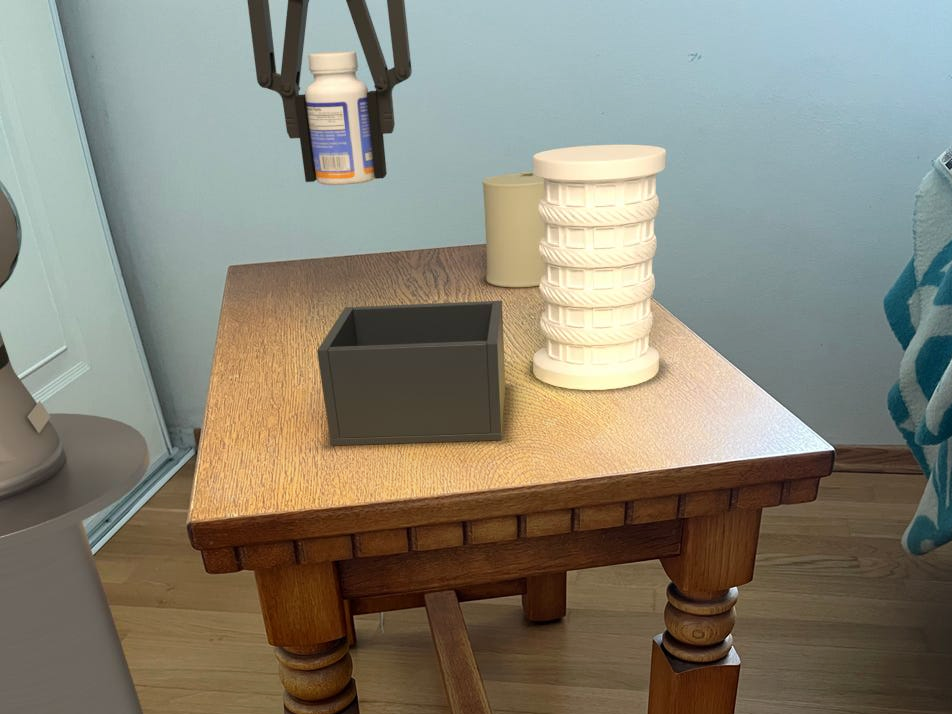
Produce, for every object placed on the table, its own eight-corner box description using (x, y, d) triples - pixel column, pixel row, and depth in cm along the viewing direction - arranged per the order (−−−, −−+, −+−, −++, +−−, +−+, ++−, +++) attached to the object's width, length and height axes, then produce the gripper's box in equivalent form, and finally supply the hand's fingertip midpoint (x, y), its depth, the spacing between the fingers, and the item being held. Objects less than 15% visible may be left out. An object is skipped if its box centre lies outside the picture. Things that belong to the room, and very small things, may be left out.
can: (566, 271, 121) (566, 167, 114) (549, 288, 114) (548, 179, 107) (498, 269, 124) (494, 169, 117) (477, 286, 116) (471, 180, 110)
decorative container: (669, 386, 82) (683, 157, 72) (537, 393, 82) (533, 166, 72) (647, 347, 92) (657, 140, 82) (529, 354, 92) (525, 148, 82)
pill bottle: (358, 175, 87) (344, 50, 81) (388, 180, 83) (376, 50, 77) (305, 182, 84) (288, 54, 79) (334, 187, 80) (318, 54, 75)
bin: (331, 445, 75) (316, 350, 70) (355, 393, 85) (344, 307, 81) (501, 440, 74) (497, 343, 70) (505, 387, 84) (502, 300, 80)
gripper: (433, -163, 73) (452, 167, 86) (200, -148, 74) (253, 177, 87) (427, -180, 67) (448, 178, 80) (172, -164, 68) (234, 189, 80)
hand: (346, 177), depth 83 cm, fingers closed on pill bottle, 5 cm apart
